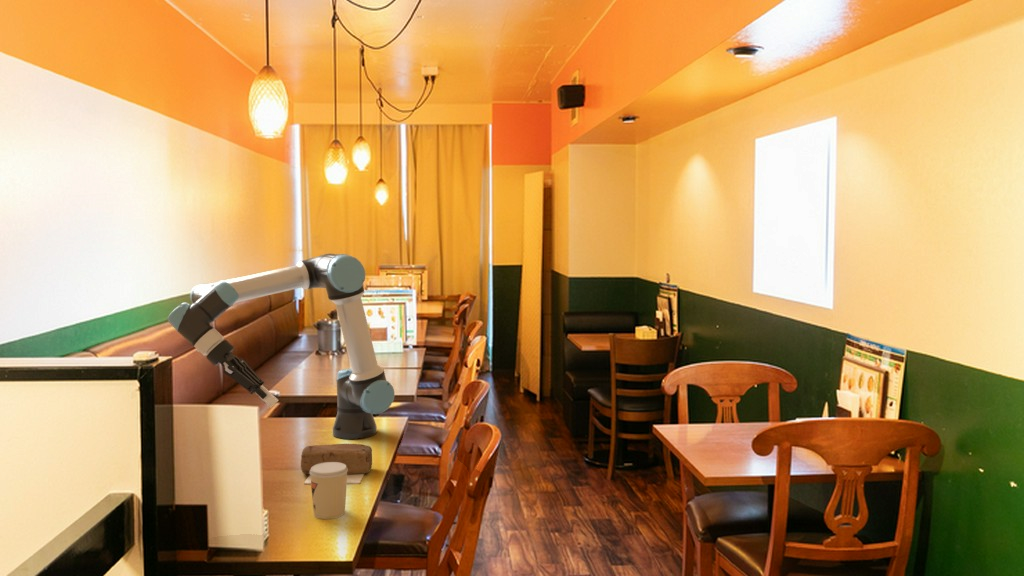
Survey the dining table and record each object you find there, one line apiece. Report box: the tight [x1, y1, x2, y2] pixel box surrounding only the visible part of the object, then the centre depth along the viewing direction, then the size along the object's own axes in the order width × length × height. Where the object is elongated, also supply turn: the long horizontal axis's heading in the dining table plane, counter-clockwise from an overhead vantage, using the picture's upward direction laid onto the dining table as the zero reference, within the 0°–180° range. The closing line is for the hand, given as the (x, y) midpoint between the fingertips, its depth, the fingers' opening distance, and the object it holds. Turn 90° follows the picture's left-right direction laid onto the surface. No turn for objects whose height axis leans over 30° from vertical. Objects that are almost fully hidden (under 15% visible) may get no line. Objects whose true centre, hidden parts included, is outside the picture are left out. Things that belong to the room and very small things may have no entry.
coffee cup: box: [309, 462, 348, 520], centre depth 193 cm, size 9×9×12 cm
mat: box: [303, 473, 366, 485], centre depth 225 cm, size 20×16×1 cm
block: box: [300, 443, 373, 475], centre depth 226 cm, size 11×8×20 cm
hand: (274, 404), depth 222 cm, fingers closed
